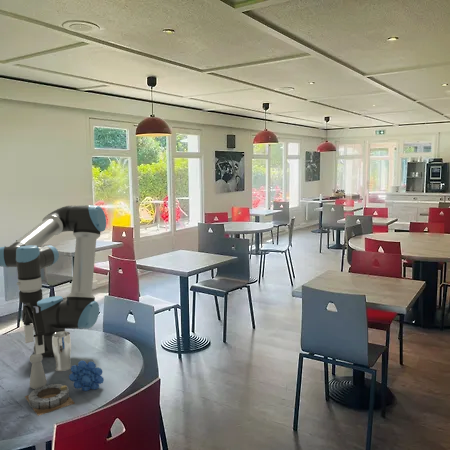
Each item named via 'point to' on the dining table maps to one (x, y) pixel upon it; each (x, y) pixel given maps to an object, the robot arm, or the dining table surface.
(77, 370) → the grapes
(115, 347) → the dining table surface
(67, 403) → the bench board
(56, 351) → the beer glass
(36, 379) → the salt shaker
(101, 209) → the robot arm
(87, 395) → the dining table surface
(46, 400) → the grey segmented ring
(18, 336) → the dining table surface
